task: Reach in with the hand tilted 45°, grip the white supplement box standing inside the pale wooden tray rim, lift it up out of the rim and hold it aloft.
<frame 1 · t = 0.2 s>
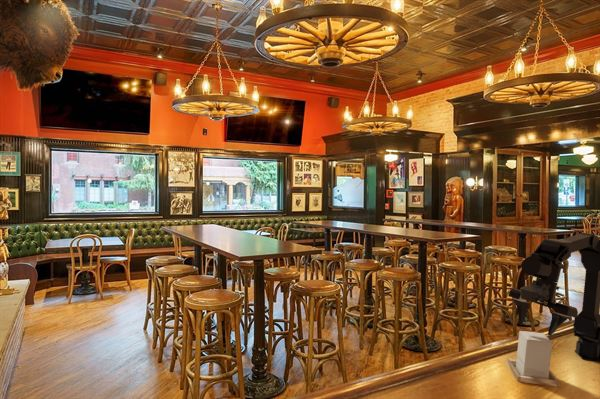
hand: (534, 329, 126), 15 cm above the bar counter, tool pointing down, fingers open, 9 cm apart
supplement box: (531, 375, 129), resting in tray rim
tray rim: (531, 374, 129), on the bar counter
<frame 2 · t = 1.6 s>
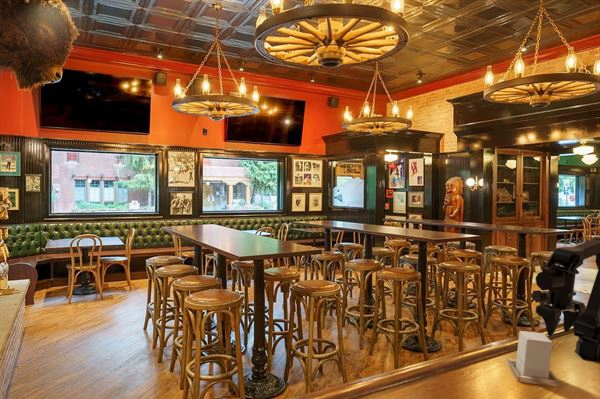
hand: (558, 333, 135), 11 cm above the bar counter, tool pointing down, fingers open, 9 cm apart
nothing on the bar counter moved.
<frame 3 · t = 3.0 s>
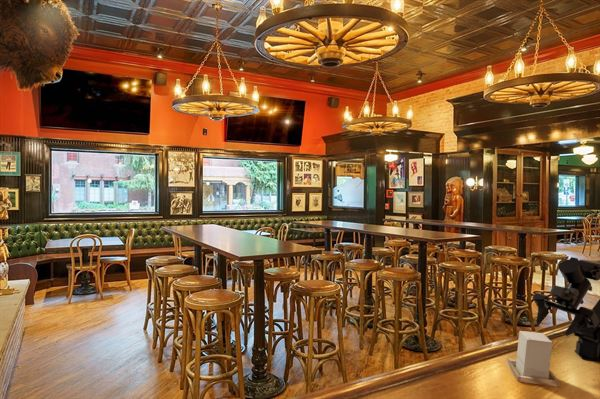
hand: (551, 329, 132), 13 cm above the bar counter, tool tilted 45°, fingers open, 9 cm apart
nothing on the bar counter moved.
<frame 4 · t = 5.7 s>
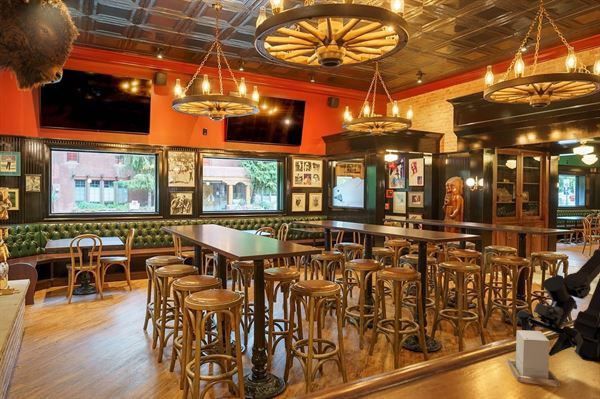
hand: (534, 348, 129), 9 cm above the bar counter, tool tilted 45°, fingers open, 9 cm apart
supplement box: (531, 374, 129), resting in tray rim, touching gripper
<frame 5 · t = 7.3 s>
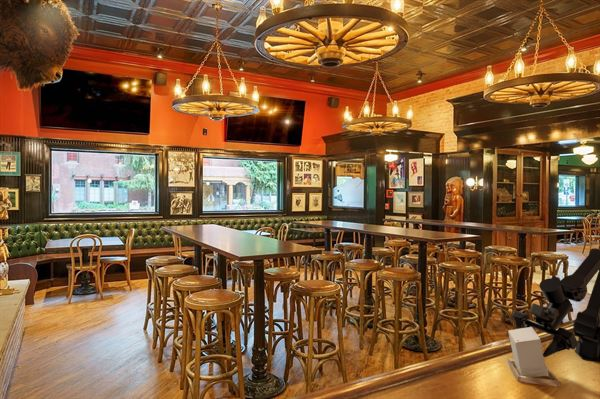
hand: (528, 349, 128), 9 cm above the bar counter, tool tilted 50°, fingers closed on supplement box, 9 cm apart
supplement box: (531, 370, 129), point 1 cm above the bar counter, touching gripper
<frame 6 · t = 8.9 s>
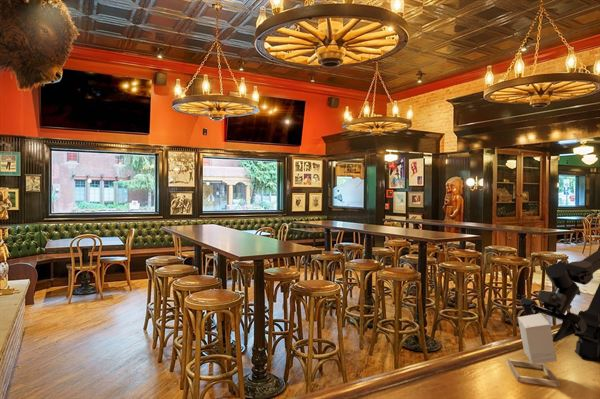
hand: (538, 335, 129), 12 cm above the bar counter, tool tilted 45°, fingers closed on supplement box, 9 cm apart
supplement box: (540, 356, 130), point 5 cm above the bar counter, touching gripper
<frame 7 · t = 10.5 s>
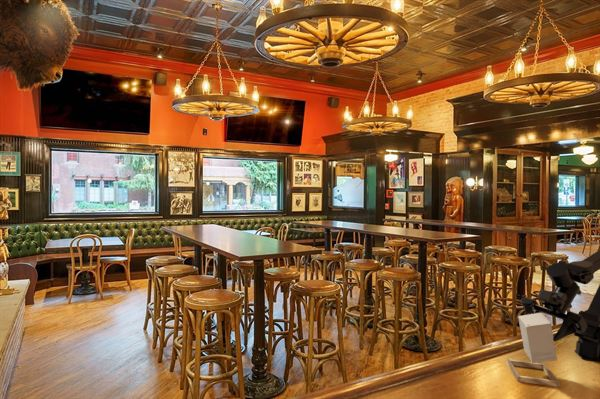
hand: (538, 334, 129), 13 cm above the bar counter, tool tilted 45°, fingers closed on supplement box, 9 cm apart
supplement box: (540, 356, 130), point 6 cm above the bar counter, touching gripper
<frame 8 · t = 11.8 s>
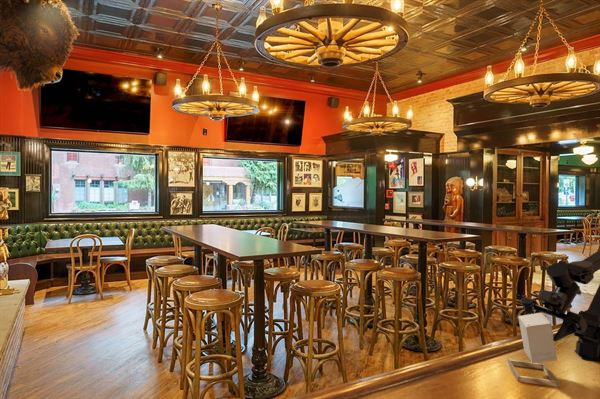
hand: (538, 334, 129), 13 cm above the bar counter, tool tilted 45°, fingers closed on supplement box, 9 cm apart
supplement box: (540, 356, 130), point 6 cm above the bar counter, touching gripper
at the end: supplement box point 5.5 cm above the bar counter; the gripper is holding supplement box; supplement box tilted 18° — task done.
